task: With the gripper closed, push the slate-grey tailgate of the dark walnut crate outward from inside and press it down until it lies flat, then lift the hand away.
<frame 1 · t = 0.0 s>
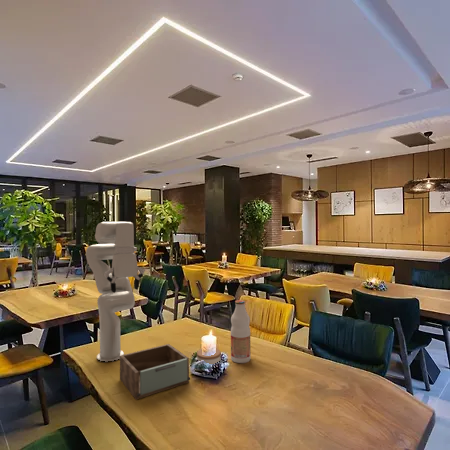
hand: (125, 290, 139), 37 cm above the table, tool pointing down, fingers open, 9 cm apart
fruit juice: (240, 359, 154), on the table
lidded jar: (208, 369, 144), on the table
crate: (154, 381, 134), on the table
tailgate: (165, 376, 125), point 6 cm above the table, hinge at 0.0°
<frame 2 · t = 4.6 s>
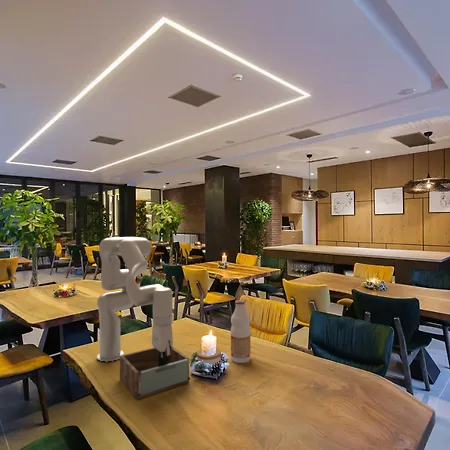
hand: (163, 366, 127), 9 cm above the table, tool pointing down, fingers closed
tailgate: (165, 376, 125), point 6 cm above the table, hinge at 4.2°, touching gripper
everything else where it was.
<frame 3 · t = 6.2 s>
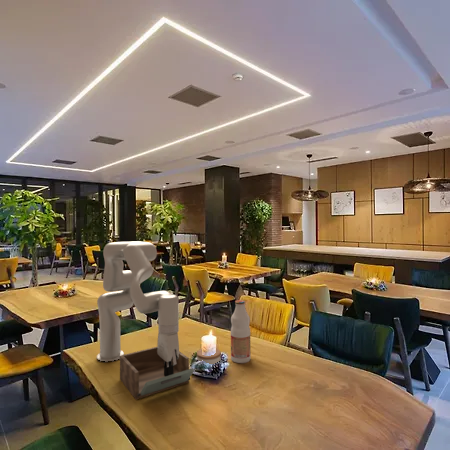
hand: (168, 375, 122), 8 cm above the table, tool pointing down, fingers closed
tailgate: (168, 382, 123), point 5 cm above the table, hinge at 43.3°, touching gripper
everything else where it was.
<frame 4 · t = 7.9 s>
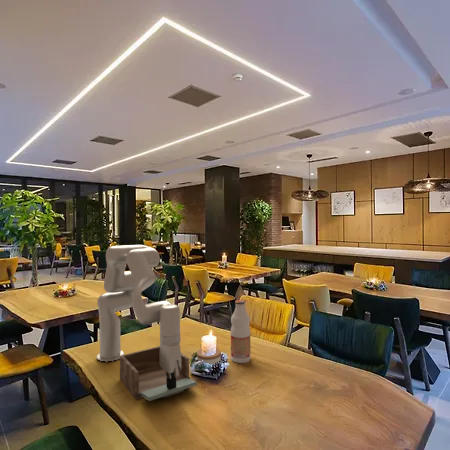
hand: (171, 387, 120), 4 cm above the table, tool pointing down, fingers closed
tailgate: (169, 389, 122), point 2 cm above the table, hinge at 78.0°, touching gripper
everything else where it was.
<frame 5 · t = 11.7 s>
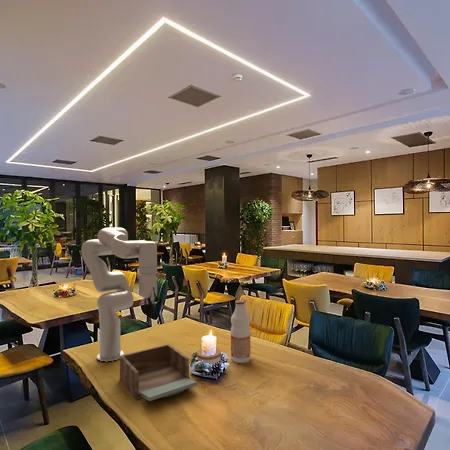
hand: (148, 312, 138), 27 cm above the table, tool pointing down, fingers closed
tailgate: (169, 389, 122), point 2 cm above the table, hinge at 78.5°
everything else where it was.
at the end: tailgate at +78° (first picture: +0°); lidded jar moved 0.2 cm from its start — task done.
